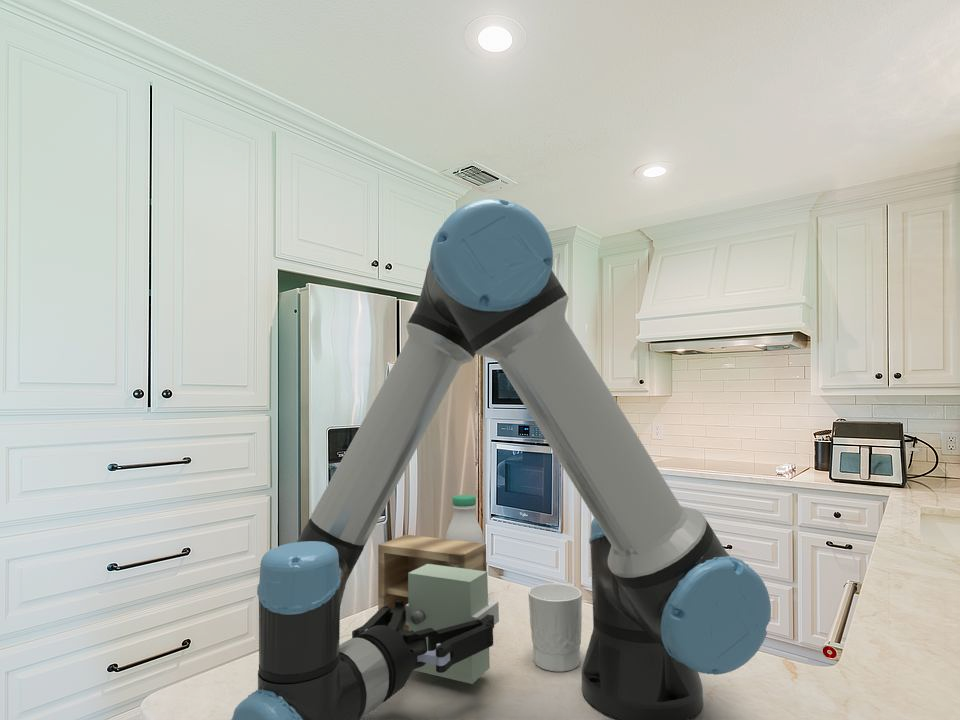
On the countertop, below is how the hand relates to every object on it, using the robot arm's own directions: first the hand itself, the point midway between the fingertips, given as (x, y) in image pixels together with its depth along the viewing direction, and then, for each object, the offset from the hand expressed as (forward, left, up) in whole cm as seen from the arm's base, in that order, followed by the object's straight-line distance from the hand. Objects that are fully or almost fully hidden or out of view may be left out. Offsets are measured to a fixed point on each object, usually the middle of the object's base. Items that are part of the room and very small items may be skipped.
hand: (463, 605), depth 82 cm
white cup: (-12, -7, -9) cm, 16 cm away
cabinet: (+9, -6, -9) cm, 14 cm away
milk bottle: (+13, -24, -9) cm, 29 cm away
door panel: (0, +4, -7) cm, 8 cm away
